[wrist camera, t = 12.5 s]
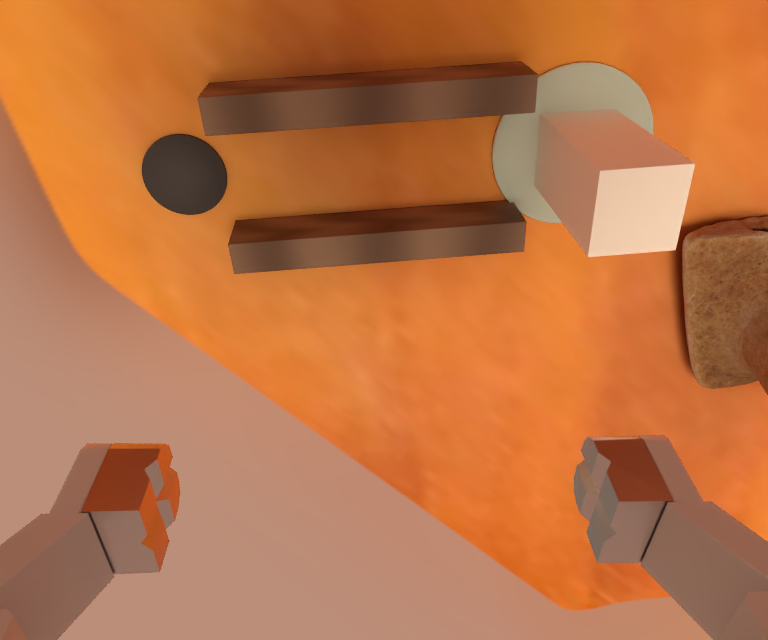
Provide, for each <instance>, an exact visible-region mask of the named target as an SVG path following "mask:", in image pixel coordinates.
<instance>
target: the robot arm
mask: <svg viewBox="0 0 768 640" xmlns="http://www.w3.org/2000/svg"><path fill="white" fill-rule="evenodd" d="M581 451H582V454H583V456H584V459H585V460H584V461H582V462H581V463H580V464H579V465H577V467H576V472H575V476H574V493H575V498H576V503H577V506H578V509H579V512H580V514H582V515H583V516H584V517H585V518H586V519H587V520H589V521H590V523H589V526H588V530H587V535H588V538H589V541H590V544H591V547H592V549H593V552H594V555H595V558H596V561H597V563H641V566H642V567H643V568H644V569H645V570H646V571H647V572H648V573H649V574H650V575H651V576H652V577H653V578H654V579H655V580H656V581H657V582H658V583H659V584H660V585H661V586H662V588H663V589H664V590H665V591H666V592H667V593H668V594H669V595H670V596H671V597H672V598H673V599H674V600H675V601H676V602H677V603H678V604H679V605H680V606H681V607H682V608H683V609H684V610H685V611H686V612H687V613H688V614H689V615H690V616H691V617H692V618H693V619H694V620H695V621H696V622H697V623H698V624H699V625H700V626H701V627H702V628H703V629H704V631H706V633H707V634H708V635H709V636H710V637H711V638H712V639H713V640H768V542H767V541H766V540H764V539H763V538H762V537H760V536H759V535H757V534H756V533H755V532H753V531H752V530H750V529H749V528H748V527H746V526H745V525H743V524H742V523H741V522H739V521H738V520H736V519H735V518H734V517H732V516H731V515H729V514H728V513H727V512H725V511H724V510H722V509H721V508H720V507H718V506H717V505H715V504H714V503H713V502H704V501H703V500H702V498H701V496H700V494H699V492H698V491H697V489H696V487H695V485H694V483H693V482H692V480H691V478H690V476H689V475H688V473H687V471H686V469H685V467H684V466H683V464H682V462H681V460H680V458H679V457H678V455H677V453H676V451H675V450H674V448H673V446H672V444H671V442H670V441H669V439H668V438H667V437H665V436H664V435H651V436H604V437H587V438H586V440H585V441H584V443H583V446H582V450H581ZM172 457H173V456H172V453H171V450H170V447H169V445H167V444H131V443H129V444H128V443H126V444H125V443H114V444H86V445H85V446H84V447H83V448H82V449H81V450H80V452H79V454H78V456H77V458H76V460H75V462H74V464H73V466H72V469H71V471H70V473H69V475H68V477H67V479H66V481H65V483H64V485H63V487H62V489H61V491H60V493H59V495H58V497H57V499H56V501H55V503H54V505H53V507H52V509H51V511H50V513H49V514H40V515H39V516H38V517H37V518H36V519H34V520H33V521H31V522H30V523H29V524H27V525H26V526H25V527H23V528H22V529H21V530H20V531H18V532H17V533H16V534H14V535H13V536H12V537H10V538H9V539H8V540H7V541H5V542H4V543H3V544H1V545H0V640H57V639H58V638H59V637H60V636H61V635H62V634H63V633H64V632H65V631H66V630H67V628H68V627H69V626H70V625H71V624H72V623H73V622H74V620H76V618H77V617H78V616H79V615H80V614H81V613H82V612H83V611H84V610H85V609H86V607H87V606H88V605H89V604H90V603H91V602H92V601H93V600H94V599H95V598H96V597H97V595H98V594H99V593H100V592H101V591H102V590H103V589H104V588H105V587H106V586H107V584H108V583H109V582H110V581H111V580H112V579H113V578H114V574H131V573H150V572H160V570H161V567H162V564H163V560H164V557H165V553H166V550H167V546H168V543H169V539H168V536H167V532H166V528H168V527H169V526H170V525H171V524H172V523H173V522H174V521H175V519H176V515H177V511H178V506H179V497H180V487H179V479H178V475H177V472H176V471H174V470H173V469H172V468H170V463H171V460H172Z"/></svg>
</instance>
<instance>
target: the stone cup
mask: <svg viewBox="0 0 768 640" xmlns="http://www.w3.org/2000/svg"><path fill="white" fill-rule="evenodd" d="M682 264H683V268H682V280H683V296H684V313H685V327H686V338H687V345H688V351H689V357H690V363H691V367H692V371H693V374H694V376H695V378H696V380H697V381H698V383H699V384H700V385H701V386H702V387H705V388H710V389H715V388H724V387H732V386H739V385H744V384H748V383H752V382H755V381H758V380H759V382H760V384H761V385H762V387H763V388H764V390H765V391H766V393H767V395H768V216H766V217H759V218H757V217H750V218H746V219H742V220H730V221H723V222H718V223H716V224H713V225H711V226H710V225H706V226H704V227H702V228H700V229H697V230H695V231H692V232H690V233H688V234H687V235H686V237H685V239H684V241H683V245H682Z"/></svg>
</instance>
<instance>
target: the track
mask: <svg viewBox="0 0 768 640" xmlns="http://www.w3.org/2000/svg"><path fill="white" fill-rule="evenodd" d="M537 83H538V74H537V73H536V72H534V71H533V70H532V69H531V68H529V67H528V66H527V65H525V64H524V63H523V62H508V63H493V64H479V65H464V66H449V67H435V68H420V69H406V70H391V71H376V72H362V73H347V74H332V75H318V76H303V77H289V78H274V79H259V80H245V81H230V82H215V83H208V85H207V86H206V87H205V89H204V90H203V91H202V93H201V94H200V95H199V97H198V102H199V107H200V112H201V116H202V121H203V126H204V131H205V136H214V135H228V134H242V133H256V132H270V131H284V130H298V129H312V128H326V127H341V126H355V125H369V124H383V123H397V122H411V121H425V120H439V119H453V118H468V117H482V116H496V115H510V114H524V113H535V108H536V95H537ZM525 232H526V221H525V219H524V217H523V216H522V214H521V213H520V211H519V210H518V208H517V206H516V205H515V203H514V202H511V203H509V201H508V200H505V201H492V202H478V203H465V204H452V205H438V206H425V207H412V208H398V209H385V210H372V211H358V212H345V213H332V214H318V215H305V216H292V217H278V218H265V219H252V220H238V221H236V222H235V225H234V228H233V231H232V234H231V237H230V241H229V244H228V246H229V251H230V256H231V261H232V265H233V270H234V274H240V273H253V272H266V271H279V270H292V269H305V268H318V267H331V266H344V265H356V264H369V263H382V262H395V261H408V260H421V259H434V258H447V257H460V256H473V255H485V254H498V253H511V252H524V245H525Z"/></svg>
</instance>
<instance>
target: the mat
mask: <svg viewBox="0 0 768 640" xmlns="http://www.w3.org/2000/svg"><path fill="white" fill-rule="evenodd" d="M600 109H616V110H617V111H619V112H620V113H622V114H623V115H625V116H626V117H627V118H629V119H630V120H632V121H633V122H635V123H636V124H638V125H639V126H641V127H642V128H644V129H645V130H647V131H648V132H650V133H651V134H652V135H653V133H654V127H653V116H652V111H651V108H650V104H649V102H648V100H647V97H646V95H645V93H644V92H643V91H642V89H641V88H640V86H639V85H638V84H637V83H636V82H635V81H634V80H633V79H632V78H631V77H629V76H628V75H626V74H625V73H624V72H622V71H620V70H618V69H616V68H614V67H611V66H608V65H605V64H601V63H595V62H577V63H570V64H566V65H563V66H559V67H556V68H554V69H552V70H549V71H547V72H545V73H544V74H542V75H540V76H538V83H537V95H536V108H535V113H524V114H510V115H502V117H501V119H500V121H499V124H498V126H497V129H496V132H495V136H494V140H493V147H492V165H493V172H494V175H495V179H496V182H497V184H498V186H499V188H500V190H501V192H502V193H503V195H504V196H505V198H506V199H507V200H508V201H509V203H511V202H514V203H515V205H516V206H517V208H518V210H519V211H520V212H521V213H523V214H524V215H526V216H528V217H530V218H533V219H535V220H539V221H543V222H548V223H562V222H561V220H560V219H559V218H558V216H557V215H556V214H555V212H554V211H553V210H552V208H551V207H550V206H549V204H548V203H547V202H546V200H545V199H544V198H543V196H542V195H541V194H540V192H539V191H538V190H537V188H536V187H535V186H534V183H535V171H536V159H537V147H538V135H539V123H540V114H545V113H559V112H573V111H586V110H600Z"/></svg>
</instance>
